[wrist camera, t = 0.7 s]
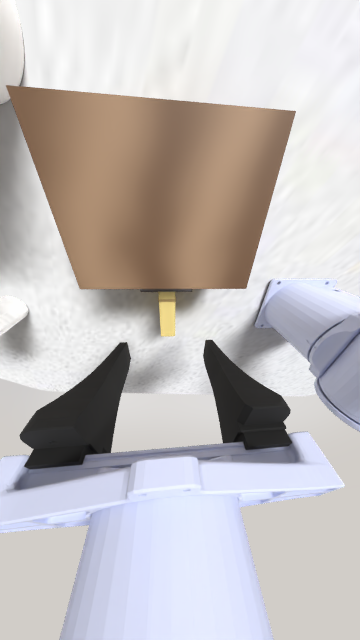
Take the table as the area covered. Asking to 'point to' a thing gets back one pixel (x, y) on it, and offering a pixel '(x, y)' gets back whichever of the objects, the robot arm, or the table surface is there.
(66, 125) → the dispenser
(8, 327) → the milkshake
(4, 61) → the cup
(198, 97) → the table surface
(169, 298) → the ticket
